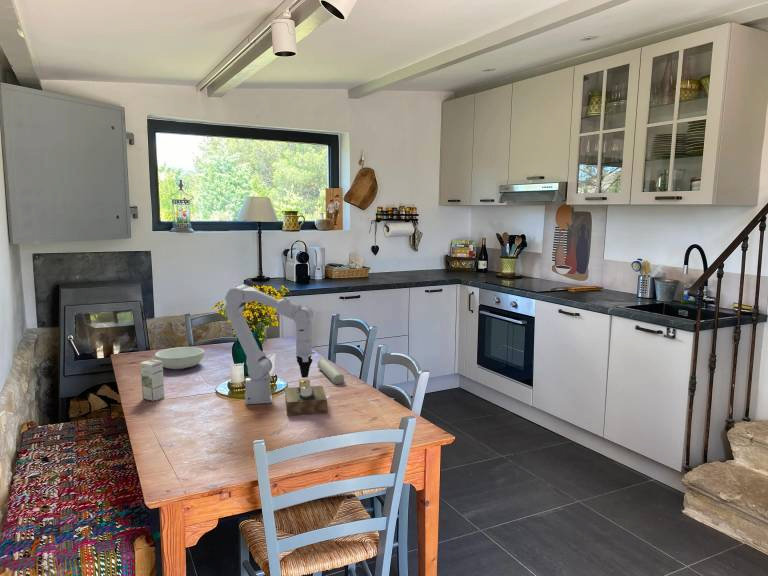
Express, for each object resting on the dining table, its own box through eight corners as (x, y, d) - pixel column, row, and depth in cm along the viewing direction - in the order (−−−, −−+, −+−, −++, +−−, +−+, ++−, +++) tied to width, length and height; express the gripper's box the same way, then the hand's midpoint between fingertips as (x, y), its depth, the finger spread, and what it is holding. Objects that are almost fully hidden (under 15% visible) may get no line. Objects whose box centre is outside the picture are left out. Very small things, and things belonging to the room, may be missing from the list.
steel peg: (301, 403, 205) (300, 389, 204) (300, 399, 209) (300, 386, 208) (312, 402, 206) (312, 389, 205) (311, 398, 210) (311, 385, 209)
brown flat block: (287, 415, 203) (286, 401, 202) (285, 400, 218) (285, 387, 217) (327, 413, 205) (326, 398, 205) (322, 398, 221) (322, 384, 220)
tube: (347, 375, 237) (330, 359, 260) (336, 372, 235) (319, 356, 258) (343, 387, 238) (326, 370, 261) (332, 385, 235) (315, 368, 258)
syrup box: (165, 397, 221) (163, 360, 219) (153, 401, 216) (151, 364, 214) (154, 395, 224) (152, 358, 222) (141, 399, 219) (139, 362, 216)
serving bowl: (214, 364, 266) (213, 350, 265) (176, 376, 248) (175, 360, 247) (184, 358, 277) (183, 344, 276) (145, 368, 259) (144, 353, 258)
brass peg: (299, 396, 213) (299, 382, 212) (299, 392, 217) (298, 379, 216) (310, 395, 214) (310, 382, 213) (309, 391, 217) (309, 379, 217)
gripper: (316, 344, 206) (317, 381, 208) (313, 335, 220) (313, 369, 222) (296, 345, 204) (297, 382, 206) (294, 335, 218) (295, 370, 220)
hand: (304, 375), depth 214 cm, fingers open, 3 cm apart
